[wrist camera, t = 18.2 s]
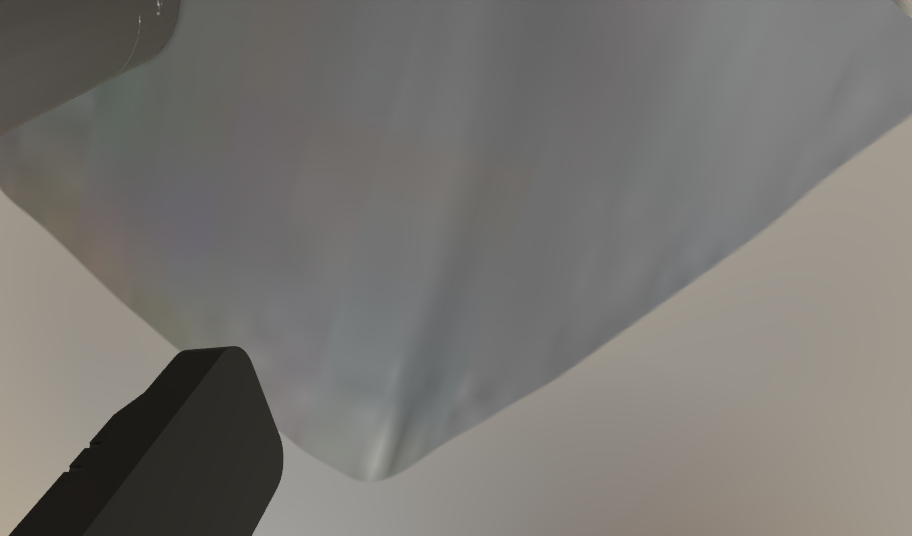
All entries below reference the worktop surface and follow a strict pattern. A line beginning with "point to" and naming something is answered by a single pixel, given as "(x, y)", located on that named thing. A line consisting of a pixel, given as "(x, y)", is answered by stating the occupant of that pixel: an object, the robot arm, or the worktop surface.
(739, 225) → the worktop surface
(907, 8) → the donut
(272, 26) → the worktop surface
